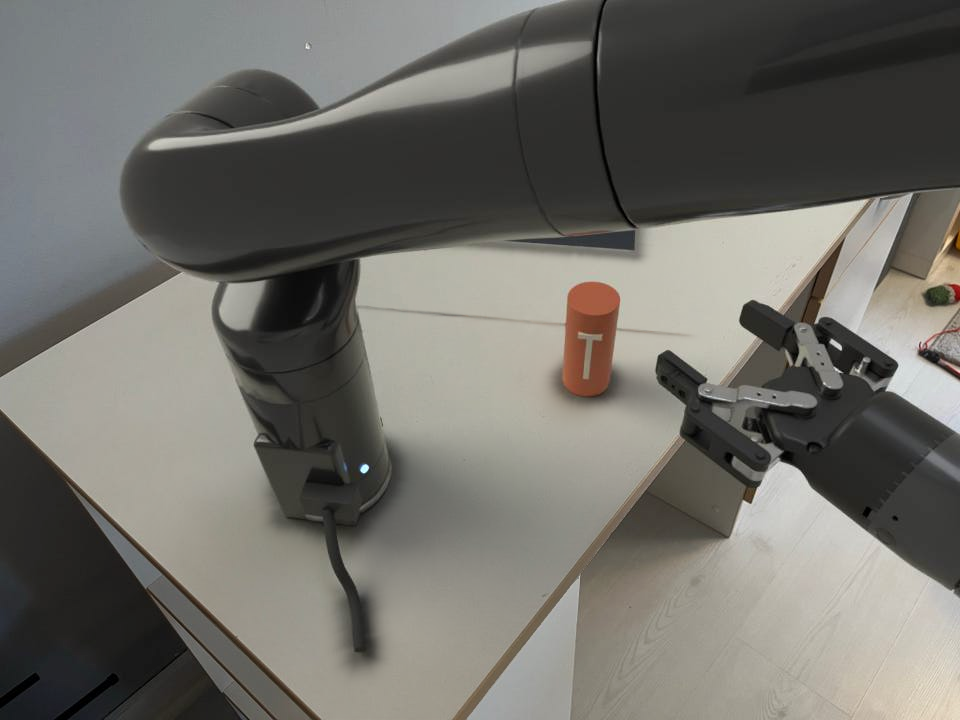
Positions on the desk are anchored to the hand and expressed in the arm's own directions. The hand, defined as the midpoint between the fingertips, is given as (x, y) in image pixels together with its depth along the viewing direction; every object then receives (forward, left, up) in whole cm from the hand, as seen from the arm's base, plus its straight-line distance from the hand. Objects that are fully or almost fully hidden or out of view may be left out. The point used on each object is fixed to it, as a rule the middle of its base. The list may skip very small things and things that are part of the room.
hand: (703, 335), depth 51 cm
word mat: (+34, +18, -14) cm, 41 cm away
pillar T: (+8, +8, -14) cm, 18 cm away
